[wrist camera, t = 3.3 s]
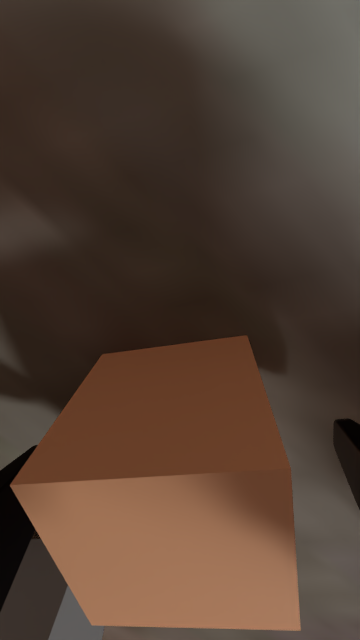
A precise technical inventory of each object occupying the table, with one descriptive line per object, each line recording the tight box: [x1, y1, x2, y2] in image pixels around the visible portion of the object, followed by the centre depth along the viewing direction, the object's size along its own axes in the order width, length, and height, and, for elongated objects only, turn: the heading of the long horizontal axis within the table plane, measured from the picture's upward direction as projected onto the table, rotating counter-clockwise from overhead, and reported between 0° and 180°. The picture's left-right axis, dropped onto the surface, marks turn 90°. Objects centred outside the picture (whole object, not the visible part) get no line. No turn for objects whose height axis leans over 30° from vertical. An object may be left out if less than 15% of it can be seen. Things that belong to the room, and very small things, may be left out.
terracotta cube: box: [10, 335, 301, 631], centre depth 8 cm, size 5×5×5 cm
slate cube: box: [0, 539, 105, 640], centre depth 13 cm, size 5×5×5 cm
